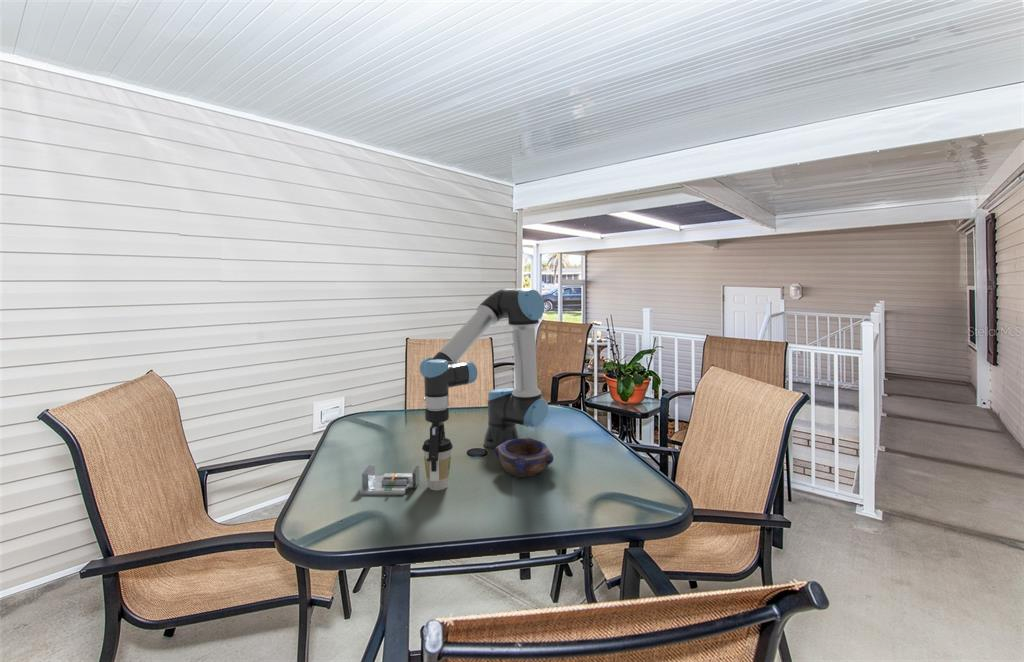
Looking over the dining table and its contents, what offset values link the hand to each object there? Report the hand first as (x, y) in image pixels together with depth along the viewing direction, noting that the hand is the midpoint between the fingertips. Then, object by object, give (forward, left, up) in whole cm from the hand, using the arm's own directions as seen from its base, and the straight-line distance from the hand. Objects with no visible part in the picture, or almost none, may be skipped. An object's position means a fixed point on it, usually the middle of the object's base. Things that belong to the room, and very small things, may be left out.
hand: (437, 471), depth 150 cm
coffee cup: (0, 0, -5) cm, 5 cm away
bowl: (-28, -11, -5) cm, 31 cm away
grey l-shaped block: (+17, 0, -5) cm, 17 cm away
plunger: (+12, +1, -4) cm, 13 cm away
